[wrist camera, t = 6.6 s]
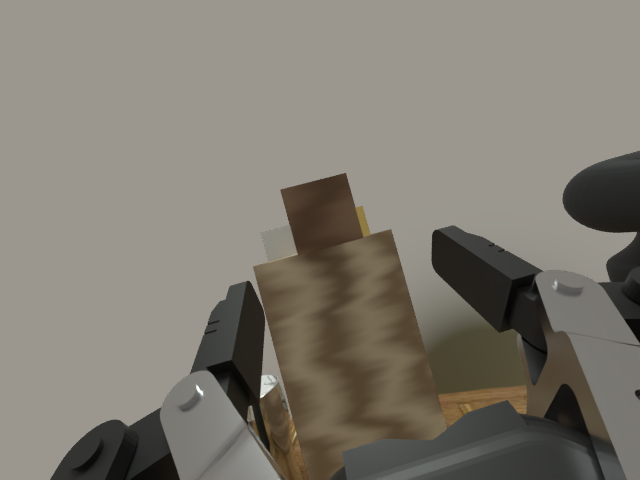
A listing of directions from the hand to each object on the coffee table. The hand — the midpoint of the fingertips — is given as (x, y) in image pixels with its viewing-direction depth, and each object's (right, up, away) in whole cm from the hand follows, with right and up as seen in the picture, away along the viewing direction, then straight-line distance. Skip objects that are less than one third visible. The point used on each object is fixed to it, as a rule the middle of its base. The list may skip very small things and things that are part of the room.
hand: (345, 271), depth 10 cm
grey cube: (-6, -1, +22) cm, 23 cm away
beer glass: (-6, -35, +23) cm, 42 cm away
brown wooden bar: (-1, +1, +15) cm, 15 cm away
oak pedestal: (+7, -31, +19) cm, 37 cm away
